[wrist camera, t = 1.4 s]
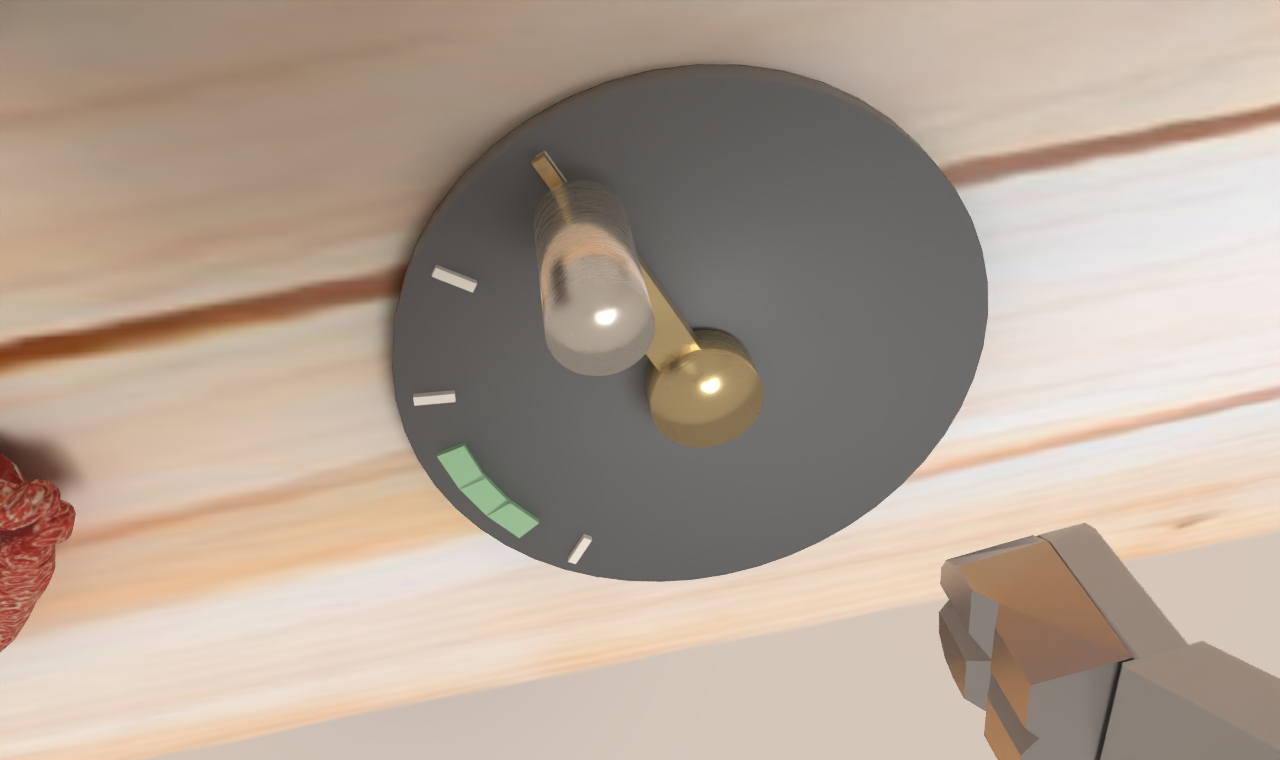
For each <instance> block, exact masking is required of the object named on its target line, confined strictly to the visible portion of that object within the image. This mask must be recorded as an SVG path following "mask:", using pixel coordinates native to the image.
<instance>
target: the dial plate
mask: <svg viewBox="0 0 1280 760" xmlns="http://www.w3.org/2000/svg"><path fill="white" fill-rule="evenodd" d="M543 152H544V153H545V154H546V155H547V157H548V158H549V160H550V161H551V162H552V164H553V165H554V167H555V168H556V169H557V171H558V172H559V174H560V175H561V176H562V178H563V179H564V181H565V182H569V181H575V180H589V181H594V182H597V183H600V184H603V185H604V186H606V187H608V188H609V189H611V190H612V191H613V192H614V193H615V194H616V195H617V196H618V197H619V198H620V200H621V202H622V203H623V206H624V208H625V211H626V215H627V219H628V222H629V226H630V230H631V233H632V237H633V241H634V244H635V248H636V250H637V252H638V253H639V255H640V256H641V258H642V259H643V260H644V262H645V263H646V265H647V266H648V268H649V269H650V270H651V272H652V273H653V275H654V276H655V278H656V279H657V280H658V282H659V283H660V285H661V286H662V287H663V289H664V290H665V292H666V293H667V295H668V296H669V297H670V299H671V300H672V302H673V303H674V305H675V306H676V307H677V309H678V310H679V312H680V313H681V315H682V316H683V317H684V319H685V320H686V322H687V323H688V325H689V326H690V327H691V329H692V330H693V331H700V330H711V331H718V332H723V333H725V334H728V335H730V336H732V337H734V338H736V339H737V340H739V341H740V342H741V343H742V344H743V345H744V346H745V347H746V349H747V350H748V352H749V354H750V356H751V358H752V361H753V363H754V366H755V368H756V371H757V374H758V376H759V379H760V381H761V384H762V387H763V404H762V408H761V411H760V413H759V415H758V417H757V418H756V420H755V421H754V422H753V424H752V425H751V426H750V427H749V428H748V429H747V430H746V431H745V432H743V433H742V434H741V435H739V436H738V437H736V438H734V439H733V440H730V441H728V442H726V443H723V444H720V445H716V446H712V447H702V448H697V447H688V446H684V445H680V444H678V443H675V442H673V441H671V440H670V439H668V438H667V437H665V436H664V435H663V434H662V433H661V432H660V431H659V429H658V428H657V426H656V425H655V422H654V420H653V417H652V413H651V408H650V404H649V400H648V396H647V391H646V387H645V375H646V370H647V367H648V365H649V363H650V361H651V360H650V359H649V358H648V356H647V355H646V354H645V355H644V356H643V357H642V358H641V359H640V360H639V361H638V362H636V363H635V364H634V365H632V366H631V367H629V368H627V369H625V370H623V371H620V372H618V373H614V374H610V375H604V376H589V375H583V374H579V373H576V372H574V371H571V370H569V369H567V368H566V367H564V366H563V365H562V364H560V363H559V362H558V361H557V360H556V359H555V358H554V357H553V355H552V354H551V352H550V350H549V348H548V346H547V343H546V338H545V330H544V321H543V311H542V302H541V293H540V283H539V274H538V264H537V255H536V246H535V236H534V226H533V221H534V215H535V211H536V209H537V206H538V204H539V203H540V201H541V200H542V198H543V197H544V196H545V195H546V194H547V193H548V192H549V191H550V188H549V187H548V186H547V184H546V183H545V181H544V180H543V179H542V177H541V176H540V175H539V173H538V172H537V171H536V169H535V168H534V166H533V165H532V159H533V158H535V157H537V156H538V155H540V154H541V153H543ZM987 317H988V282H987V276H986V270H985V264H984V258H983V252H982V248H981V245H980V242H979V239H978V236H977V233H976V231H975V228H974V225H973V222H972V219H971V217H970V215H969V213H968V211H967V210H966V208H965V206H964V204H963V202H962V200H961V199H960V197H959V195H958V193H957V191H956V189H955V188H954V187H953V185H952V184H951V183H950V182H949V180H948V179H947V178H946V176H945V175H944V174H943V173H942V171H941V170H940V169H939V168H938V166H937V165H936V164H935V163H934V161H933V160H932V159H931V158H930V157H929V156H928V154H927V153H926V152H925V151H924V150H923V149H922V148H921V147H920V146H919V144H917V143H916V142H915V141H914V140H913V139H912V138H911V137H910V136H909V135H908V134H906V133H905V132H904V131H903V130H902V129H901V128H900V127H899V126H898V125H897V124H896V123H894V122H893V121H892V120H891V119H889V118H888V117H886V116H885V115H883V114H882V113H880V112H879V111H877V110H876V109H874V108H873V107H871V106H870V105H868V104H867V103H865V102H864V101H862V100H860V99H859V98H856V97H854V96H852V95H850V94H848V93H845V92H843V91H841V90H839V89H837V88H834V87H832V86H830V85H828V84H826V83H823V82H820V81H817V80H813V79H810V78H806V77H803V76H799V75H796V74H792V73H789V72H785V71H780V70H773V69H766V68H759V67H752V66H745V65H690V66H682V67H674V68H666V69H658V70H651V71H647V72H643V73H639V74H636V75H632V76H628V77H624V78H620V79H616V80H613V81H609V82H606V83H603V84H601V85H598V86H596V87H593V88H591V89H588V90H586V91H583V92H581V93H578V94H576V95H573V96H571V97H568V98H566V99H564V100H562V101H560V102H559V103H557V104H555V105H553V106H552V107H550V108H548V109H546V110H544V111H543V112H541V113H539V114H537V115H535V116H534V117H532V118H530V119H528V120H527V121H525V122H524V123H522V124H521V125H520V126H518V127H517V128H516V129H514V130H513V131H512V132H510V133H509V134H508V135H506V136H505V137H504V138H502V139H501V140H500V141H498V142H497V143H496V144H494V145H493V146H492V147H491V148H490V149H488V150H487V151H486V152H485V153H484V154H483V155H482V156H481V157H480V158H479V159H478V160H477V161H476V162H475V163H474V164H473V165H472V166H471V167H470V168H469V169H468V170H467V171H466V172H465V173H464V174H463V175H462V176H461V177H460V178H459V180H458V181H457V182H456V183H455V185H454V186H453V187H452V189H451V190H450V191H449V193H448V194H447V195H446V196H445V198H444V199H443V200H442V202H441V203H440V204H439V205H438V207H437V208H436V210H435V211H434V213H433V215H432V217H431V219H430V220H429V222H428V224H427V226H426V227H425V229H424V231H423V233H422V234H421V236H420V238H419V240H418V241H417V244H416V246H415V249H414V252H413V254H412V257H411V259H410V262H409V265H408V267H407V270H406V272H405V275H404V279H403V283H402V288H401V292H400V297H399V302H398V306H397V311H396V320H395V328H394V343H393V362H392V369H393V378H394V387H395V396H396V402H397V405H398V409H399V412H400V416H401V420H402V423H403V427H404V430H405V433H406V435H407V437H408V439H409V441H410V443H411V446H412V448H413V450H414V452H415V454H416V456H417V459H418V460H419V462H420V463H421V465H422V466H423V468H424V469H425V471H426V472H427V474H428V475H429V477H430V478H431V480H432V481H433V483H434V484H435V486H436V487H437V488H438V489H439V490H440V491H441V492H442V493H443V495H444V496H445V497H446V498H447V499H448V500H449V501H450V502H451V503H452V505H453V506H454V507H455V508H456V509H457V510H458V511H460V512H461V513H462V514H463V515H464V516H466V517H467V518H468V519H469V520H470V521H472V522H473V523H474V524H475V525H476V526H477V527H479V528H480V529H481V530H483V531H485V532H486V533H488V534H489V535H491V536H492V537H494V538H496V539H497V540H499V541H500V542H502V543H503V544H505V545H507V546H509V547H511V548H513V549H515V550H517V551H519V552H521V553H523V554H525V555H527V556H529V557H532V558H534V559H536V560H539V561H542V562H545V563H548V564H551V565H553V566H556V567H559V568H562V569H565V570H570V571H574V572H578V573H583V574H587V575H591V576H595V577H603V578H611V579H619V580H627V581H657V582H662V581H678V580H693V579H700V578H706V577H712V576H719V575H725V574H729V573H733V572H737V571H741V570H745V569H749V568H753V567H757V566H761V565H763V564H766V563H769V562H772V561H775V560H778V559H781V558H784V557H786V556H789V555H792V554H794V553H796V552H798V551H801V550H803V549H805V548H807V547H809V546H812V545H814V544H816V543H818V542H820V541H822V540H824V539H826V538H827V537H829V536H831V535H833V534H834V533H836V532H838V531H840V530H842V529H843V528H845V527H847V526H849V525H850V524H852V523H853V522H854V521H856V520H857V519H859V518H860V517H862V516H863V515H864V514H866V513H867V512H869V511H870V510H872V509H873V508H875V507H876V506H877V505H878V504H880V503H881V502H882V501H883V500H884V499H885V498H887V497H888V496H889V495H890V494H891V493H892V492H894V491H895V490H896V489H897V488H898V487H899V486H901V485H902V484H903V483H904V482H905V481H906V480H907V479H908V477H909V476H910V475H911V474H912V473H913V472H914V471H915V470H916V469H917V468H918V467H919V466H920V465H921V464H922V463H923V462H924V461H925V459H926V458H927V457H928V455H929V454H930V453H931V452H932V450H933V449H934V448H935V446H936V445H937V444H938V442H939V441H940V440H941V439H942V437H943V436H944V435H945V433H946V431H947V430H948V428H949V426H950V425H951V423H952V421H953V420H954V418H955V416H956V415H957V413H958V411H959V410H960V408H961V406H962V404H963V401H964V399H965V397H966V395H967V392H968V390H969V388H970V386H971V383H972V381H973V379H974V376H975V373H976V369H977V366H978V363H979V359H980V356H981V352H982V349H983V345H984V338H985V331H986V324H987Z"/></svg>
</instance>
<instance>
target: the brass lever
mask: <svg viewBox="0 0 1280 760" xmlns="http://www.w3.org/2000/svg"><path fill="white" fill-rule="evenodd" d="M532 165H533V166H534V168H535V169H536V171H537V172H538V173H539V175H540V176H541V177H542V179H543V180H544V181H545V183H546V184H547V186H548V187H549V188H550V191H549V192H548V193H547V194H546V195H545V196H544V197H543V198H542V200H541V201H540V203H539V204H538V206H537V209H536V211H535V215H534V221H533V226H534V236H535V246H536V255H537V264H538V274H539V283H540V293H541V302H542V311H543V321H544V330H545V338H546V343H547V346H548V348H549V350H550V352H551V354H552V355H553V357H554V358H555V359H556V360H557V361H558V362H559V363H560V364H562V365H563V366H564V367H566V368H567V369H569V370H571V371H574V372H576V373H579V374H583V375H589V376H604V375H610V374H614V373H618V372H620V371H623V370H625V369H627V368H629V367H631V366H632V365H634V364H635V363H636V362H638V361H639V360H640V359H641V358H642V357H643V356H644V355H645V354H646V355H647V356H648V358H649V359H650V360H651V361H650V363H649V365H648V367H647V370H646V375H645V387H646V391H647V396H648V400H649V404H650V408H651V413H652V417H653V420H654V422H655V425H656V426H657V428H658V429H659V431H660V432H661V433H662V434H663V435H664V436H665V437H667V438H668V439H670V440H671V441H673V442H675V443H678V444H680V445H684V446H688V447H697V448H702V447H712V446H716V445H720V444H723V443H726V442H728V441H730V440H733V439H734V438H736V437H738V436H739V435H741V434H742V433H743V432H745V431H746V430H747V429H748V428H749V427H750V426H751V425H752V424H753V422H754V421H755V420H756V418H757V417H758V415H759V413H760V411H761V408H762V404H763V387H762V384H761V381H760V379H759V376H758V374H757V371H756V368H755V366H754V363H753V361H752V358H751V356H750V354H749V352H748V350H747V349H746V347H745V346H744V345H743V344H742V343H741V342H740V341H739V340H737V339H736V338H734V337H732V336H730V335H728V334H725V333H723V332H718V331H711V330H700V331H693V330H692V329H691V327H690V326H689V325H688V323H687V322H686V320H685V319H684V317H683V316H682V315H681V313H680V312H679V310H678V309H677V307H676V306H675V305H674V303H673V302H672V300H671V299H670V297H669V296H668V295H667V293H666V292H665V290H664V289H663V287H662V286H661V285H660V283H659V282H658V280H657V279H656V278H655V276H654V275H653V273H652V272H651V270H650V269H649V268H648V266H647V265H646V263H645V262H644V260H643V259H642V258H641V256H640V255H639V253H638V252H637V250H636V248H635V244H634V241H633V237H632V233H631V230H630V226H629V222H628V219H627V215H626V211H625V208H624V206H623V203H622V202H621V200H620V198H619V197H618V196H617V195H616V194H615V193H614V192H613V191H612V190H611V189H609V188H608V187H606V186H604V185H603V184H600V183H597V182H594V181H589V180H575V181H569V182H565V181H564V179H563V178H562V176H561V175H560V174H559V172H558V171H557V169H556V168H555V167H554V165H553V164H552V162H551V161H550V160H549V158H548V157H547V155H546V154H545V153H544V152H543V153H541V154H540V155H538V156H537V157H535V158H533V159H532Z"/></svg>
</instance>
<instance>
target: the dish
mask: <svg viewBox="0 0 1280 760" xmlns="http://www.w3.org/2000/svg"><path fill="white" fill-rule="evenodd" d="M75 515H76V513H75V510H74V507H73V506H72V505H71V504H70V503H68V502H65V501H62V500H60V491H59V489H58V488H57V487H56V486H54V485H53V484H52V483H51V482H49V481H48V480H42V479H34V480H33V481H32V482H30V483H28V481H27V480H26V478H25V477H24V475H23V474H22V472H21V471H20V470H19V468H18V467H17V466H16V465H15V464H14V463H13V462H12V461H10V460H9V459H8V458H7V457H6V456H4V455H3V454H2V453H0V652H1V651H2V650H3V649H4V648H6V647H7V646H8V645H9V644H10V643H11V642H12V641H13V640H15V638H16V637H17V635H18V633H19V632H20V630H21V629H22V627H23V626H24V624H25V623H26V621H27V619H28V618H29V616H30V614H31V612H32V610H33V607H34V605H35V603H36V601H37V600H38V599H39V598H40V596H41V595H42V594H43V592H44V591H45V590H46V588H47V586H48V584H49V581H50V579H51V577H52V575H53V572H54V569H55V544H57V543H61V542H64V541H66V540H67V539H68V538H69V537H70V536H71V533H72V530H73V526H74V520H75Z"/></svg>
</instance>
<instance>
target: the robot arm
mask: <svg viewBox="0 0 1280 760" xmlns="http://www.w3.org/2000/svg"><path fill="white" fill-rule="evenodd" d="M940 584H941V586H942V588H943V590H944V591H945V593H946V595H947V597H948V598H949V601H948V602H947V603H946V604H945V605H944V607H943V608H942V609H941V610H940V612H939V635H940V639H941V643H942V647H943V651H944V656H945V659H946V662H947V664H948V666H949V669H950V671H951V674H952V676H953V678H954V680H955V682H956V684H957V686H958V688H959V690H960V692H961V693H962V695H963V697H964V698H965V699H966V700H968V701H970V702H972V703H973V704H975V705H976V706H978V707H980V708H981V709H983V710H985V711H986V721H985V731H984V736H985V738H986V739H987V741H988V743H989V745H990V747H991V748H992V750H993V752H994V754H995V756H996V757H997V759H998V760H1280V678H1278V677H1276V676H1274V675H1271V674H1269V673H1267V672H1265V671H1263V670H1261V669H1259V668H1257V667H1255V666H1253V665H1251V664H1249V663H1247V662H1245V661H1243V660H1241V659H1239V658H1237V657H1235V656H1233V655H1230V654H1228V653H1227V652H1224V651H1222V650H1220V649H1218V648H1216V647H1214V646H1212V645H1210V644H1208V643H1206V642H1204V641H1200V642H1196V643H1192V644H1188V643H1187V642H1186V641H1185V639H1184V638H1183V637H1182V635H1181V634H1180V633H1179V632H1178V630H1177V629H1176V628H1175V627H1174V625H1173V624H1172V623H1171V622H1170V621H1169V619H1168V618H1167V617H1166V616H1165V614H1164V613H1163V612H1162V611H1161V609H1160V608H1159V607H1158V606H1157V604H1156V603H1155V602H1154V601H1153V599H1152V598H1151V597H1150V596H1149V594H1148V593H1147V592H1146V591H1145V590H1144V588H1143V587H1142V586H1141V585H1140V583H1139V582H1138V581H1137V580H1136V578H1135V577H1134V576H1133V575H1132V573H1131V572H1130V571H1129V570H1128V568H1127V567H1126V566H1125V565H1124V563H1123V562H1122V561H1121V560H1120V559H1119V557H1118V556H1117V555H1116V554H1115V552H1114V551H1113V550H1112V549H1111V547H1110V546H1109V545H1108V544H1107V542H1106V541H1105V540H1104V539H1103V537H1102V536H1101V535H1100V534H1099V533H1098V531H1097V530H1096V529H1095V528H1093V527H1091V526H1090V525H1088V524H1086V523H1082V524H1077V525H1073V526H1070V527H1066V528H1062V529H1059V530H1055V531H1052V532H1048V533H1045V534H1041V535H1038V536H1033V535H1032V536H1029V537H1025V538H1022V539H1018V540H1015V541H1011V542H1008V543H1004V544H1001V545H997V546H994V547H990V548H987V549H983V550H980V551H976V552H973V553H969V554H966V555H962V556H959V557H955V558H952V559H948V560H946V561H945V563H944V565H943V566H942V568H941V582H940Z"/></svg>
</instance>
